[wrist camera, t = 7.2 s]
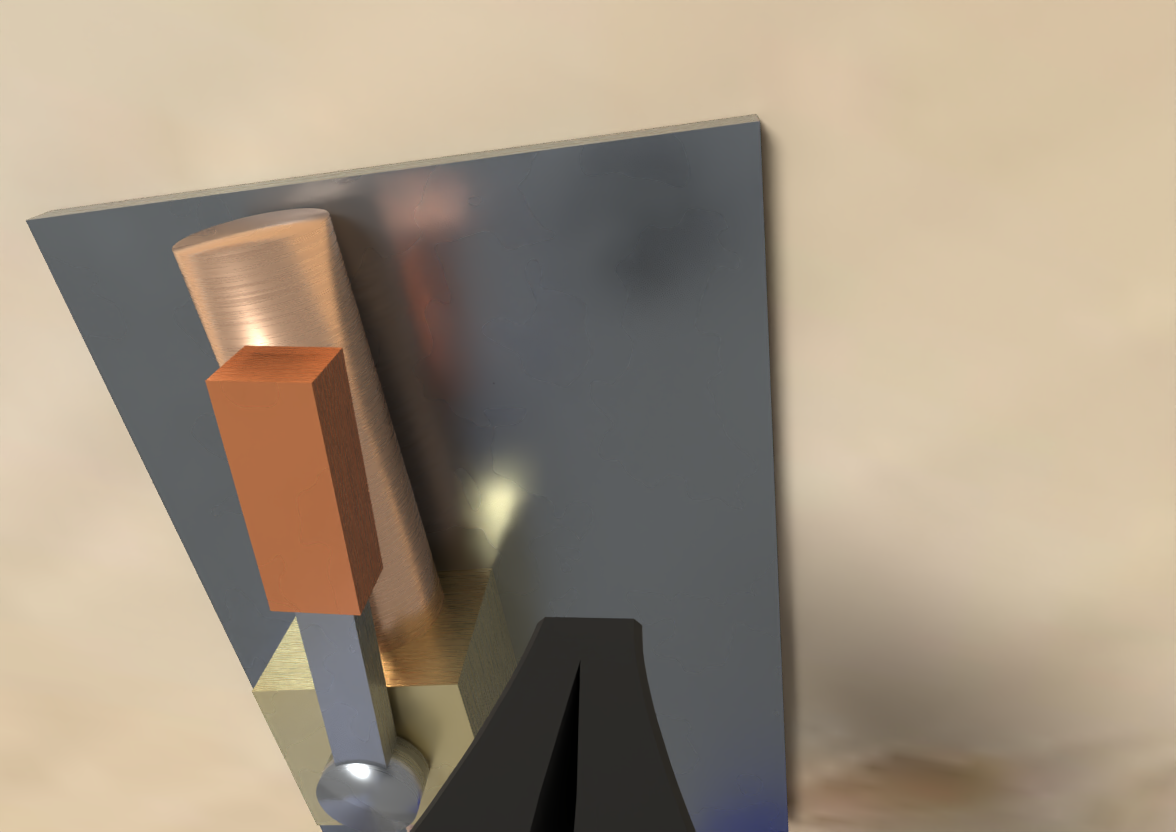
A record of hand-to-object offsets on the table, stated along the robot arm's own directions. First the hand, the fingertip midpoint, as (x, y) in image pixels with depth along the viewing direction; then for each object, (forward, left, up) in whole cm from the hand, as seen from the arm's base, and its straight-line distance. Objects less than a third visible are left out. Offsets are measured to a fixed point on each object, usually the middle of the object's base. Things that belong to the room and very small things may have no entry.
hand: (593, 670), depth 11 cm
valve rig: (-5, +5, -9) cm, 12 cm away
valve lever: (-3, +6, -5) cm, 8 cm away
